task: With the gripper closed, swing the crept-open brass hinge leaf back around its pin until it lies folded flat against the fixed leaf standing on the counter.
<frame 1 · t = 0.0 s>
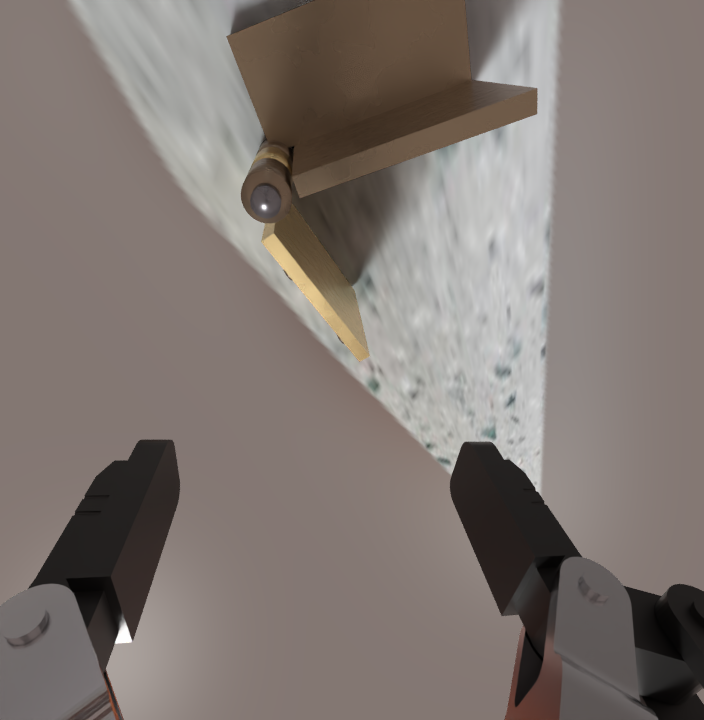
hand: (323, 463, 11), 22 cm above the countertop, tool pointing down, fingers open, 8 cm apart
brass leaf: (318, 249, 25), point 5 cm above the countertop, hinge at 75.0°
hinge mount: (361, 126, 25), on the countertop
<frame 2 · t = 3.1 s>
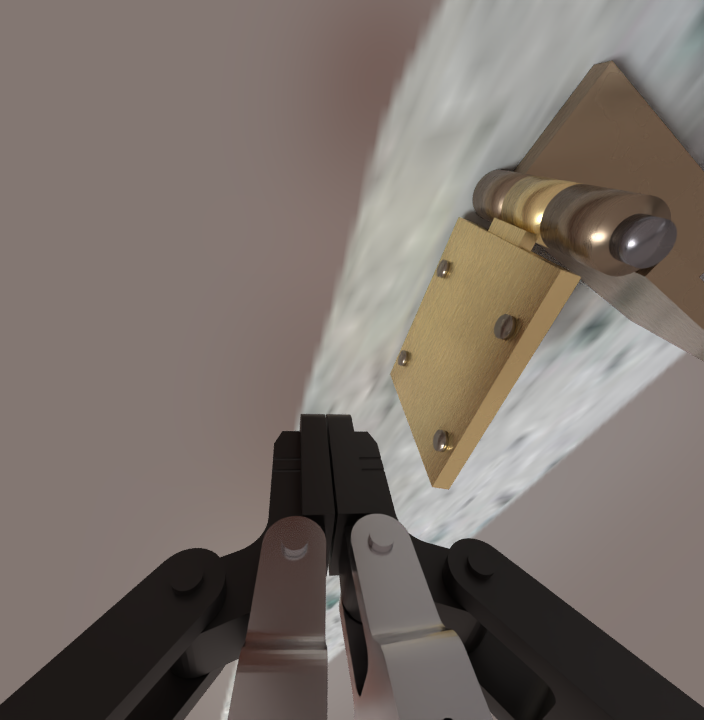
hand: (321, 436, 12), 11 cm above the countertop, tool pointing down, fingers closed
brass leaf: (483, 320, 18), point 5 cm above the countertop, hinge at 75.0°
hinge mount: (568, 256, 22), on the countertop
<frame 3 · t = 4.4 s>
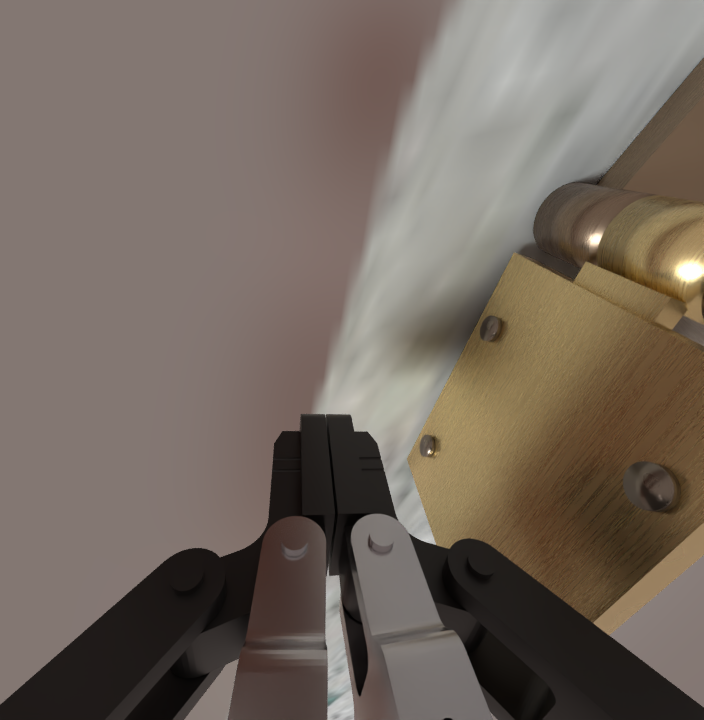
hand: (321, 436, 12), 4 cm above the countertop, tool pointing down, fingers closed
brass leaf: (564, 421, 11), point 5 cm above the countertop, hinge at 75.0°
hinge mount: (658, 302, 16), on the countertop
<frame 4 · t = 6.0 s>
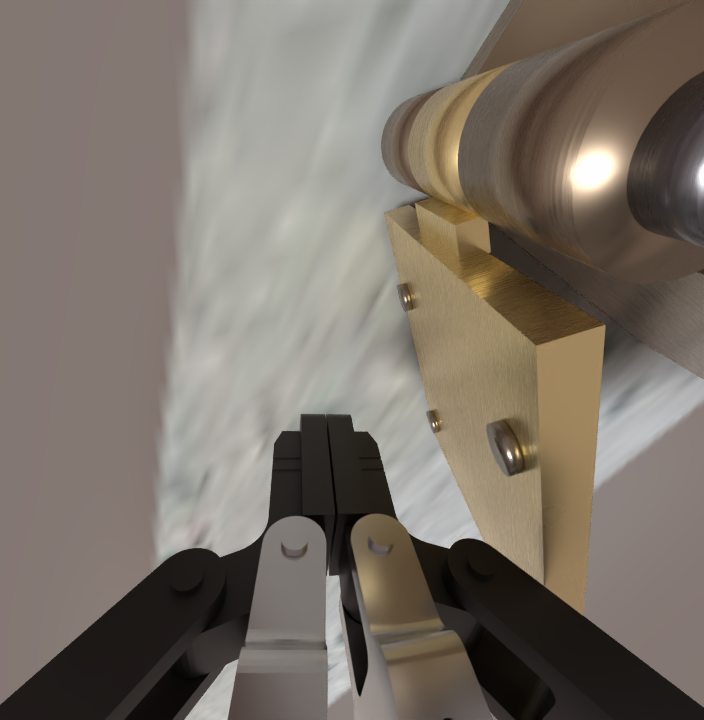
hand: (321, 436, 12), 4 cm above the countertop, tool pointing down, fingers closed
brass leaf: (495, 364, 10), point 5 cm above the countertop, hinge at 40.8°, touching hand
hinge mount: (547, 247, 14), on the countertop
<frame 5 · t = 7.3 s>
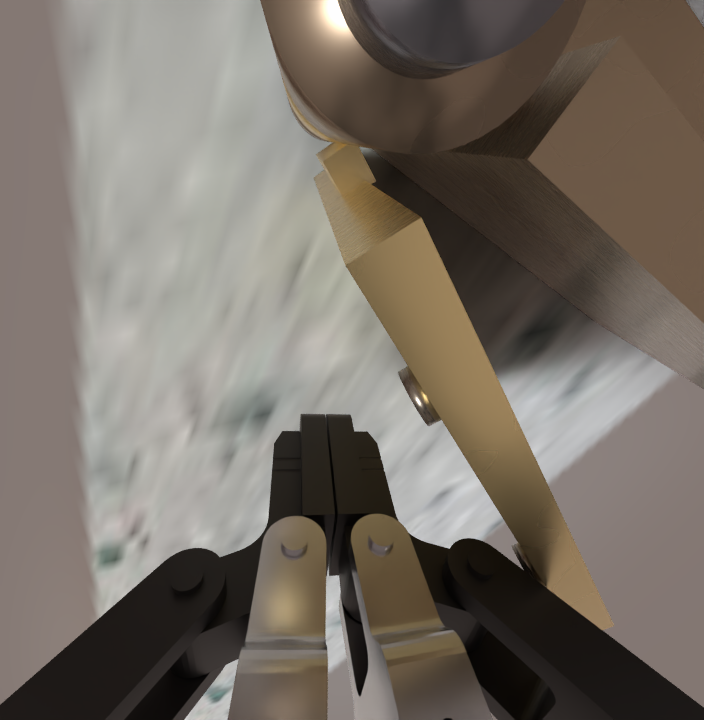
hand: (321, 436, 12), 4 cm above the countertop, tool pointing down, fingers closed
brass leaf: (450, 306, 9), point 5 cm above the countertop, hinge at 25.7°, touching hand
hinge mount: (481, 213, 13), on the countertop
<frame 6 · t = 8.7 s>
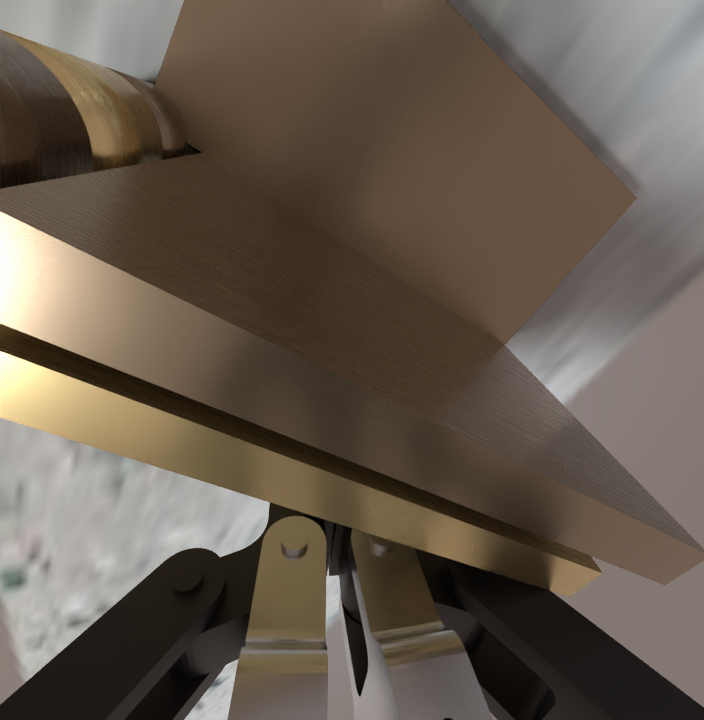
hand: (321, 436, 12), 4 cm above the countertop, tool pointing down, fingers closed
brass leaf: (308, 295, 8), point 5 cm above the countertop, hinge at -0.2°, touching hand
hinge mount: (334, 248, 13), on the countertop
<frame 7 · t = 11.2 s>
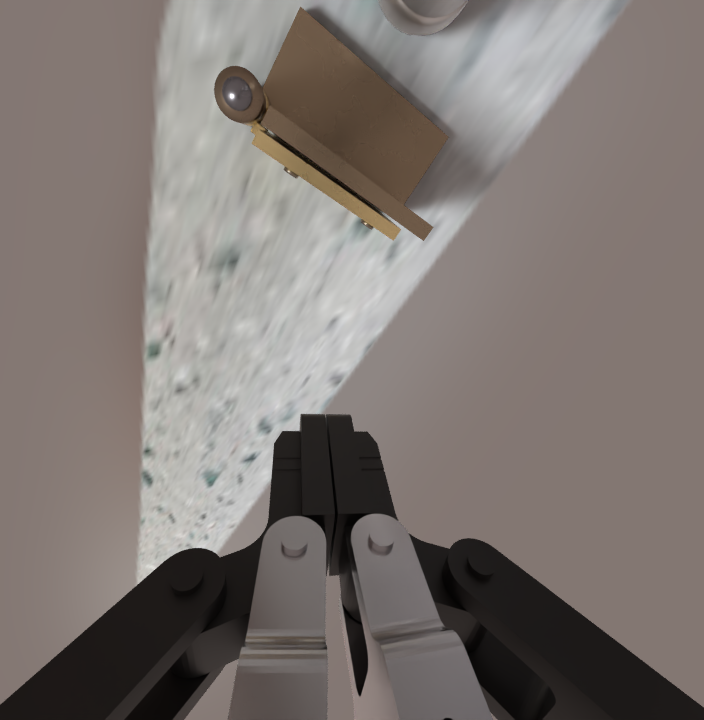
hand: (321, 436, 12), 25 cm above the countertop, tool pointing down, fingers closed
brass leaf: (316, 158, 25), point 5 cm above the countertop, hinge at -0.3°
hinge mount: (325, 159, 30), on the countertop
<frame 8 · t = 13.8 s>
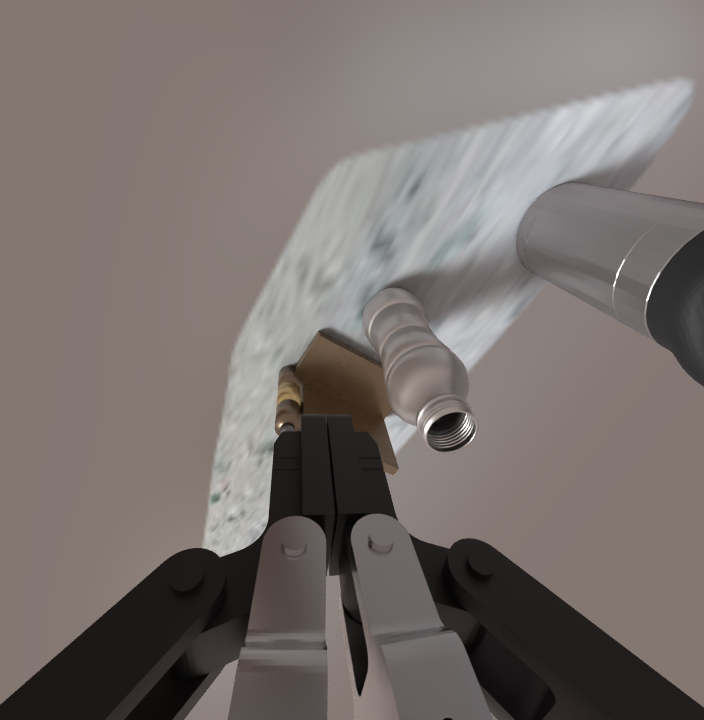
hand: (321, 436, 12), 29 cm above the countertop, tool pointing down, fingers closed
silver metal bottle: (388, 310, 42), on the countertop
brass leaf: (328, 419, 42), point 5 cm above the countertop, hinge at -0.3°
hinge mount: (333, 394, 46), on the countertop
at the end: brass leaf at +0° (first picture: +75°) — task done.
